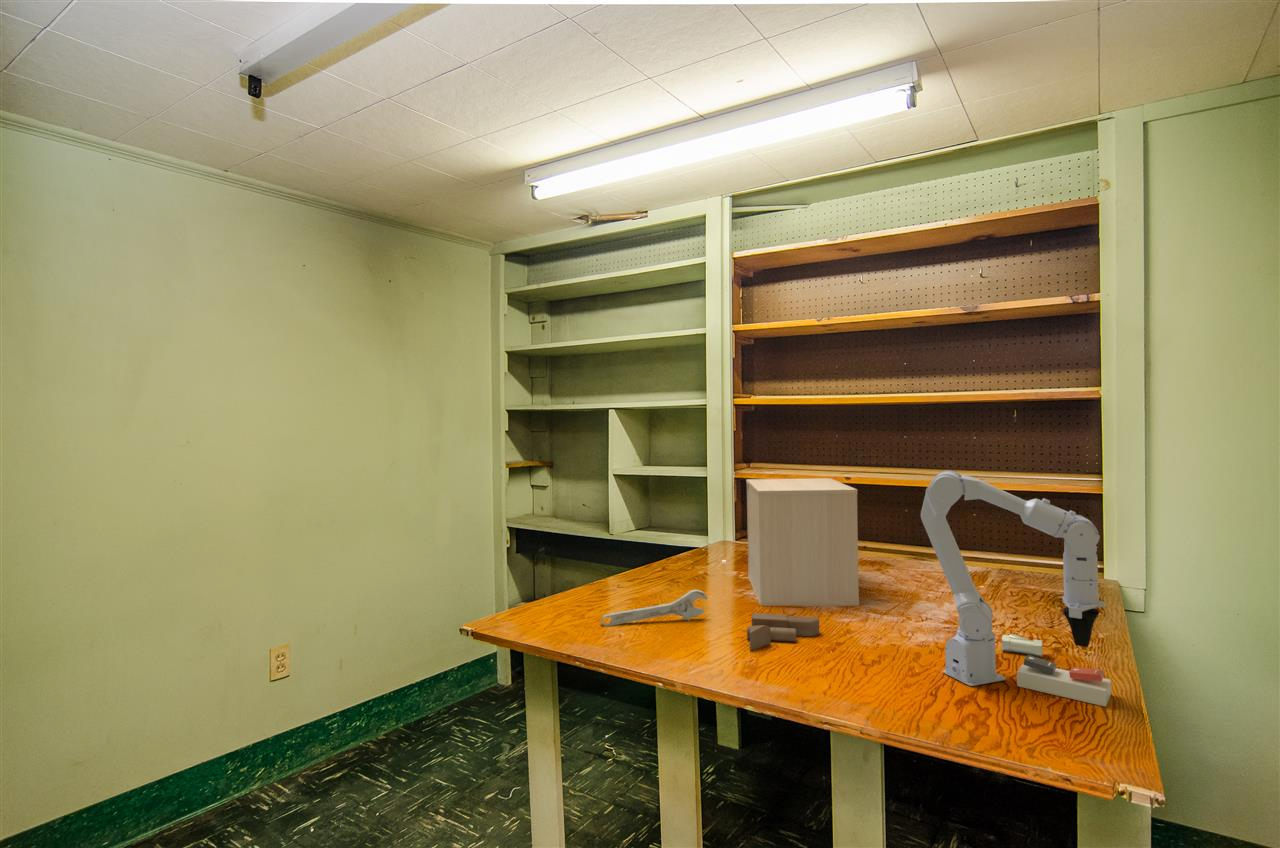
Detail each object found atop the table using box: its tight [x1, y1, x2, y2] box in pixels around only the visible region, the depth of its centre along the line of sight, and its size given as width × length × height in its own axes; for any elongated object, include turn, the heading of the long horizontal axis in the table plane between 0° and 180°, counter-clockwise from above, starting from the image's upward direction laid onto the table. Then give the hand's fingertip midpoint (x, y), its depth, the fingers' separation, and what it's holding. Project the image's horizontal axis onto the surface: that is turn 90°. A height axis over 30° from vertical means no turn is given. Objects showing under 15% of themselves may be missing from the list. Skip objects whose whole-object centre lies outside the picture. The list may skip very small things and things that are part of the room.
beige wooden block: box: [745, 477, 860, 607], centre depth 210 cm, size 35×29×34 cm
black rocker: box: [1023, 654, 1058, 675], centre depth 134 cm, size 5×3×1 cm, turn 48°
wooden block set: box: [746, 612, 820, 652], centre depth 164 cm, size 17×6×18 cm
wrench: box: [600, 589, 708, 627], centre depth 181 cm, size 8×2×30 cm
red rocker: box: [1069, 666, 1105, 681], centre depth 129 cm, size 5×3×1 cm, turn 48°
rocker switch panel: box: [1016, 662, 1112, 707], centre depth 132 cm, size 15×7×3 cm, turn 48°
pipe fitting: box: [1001, 633, 1044, 658], centre depth 153 cm, size 8×4×7 cm
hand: (1081, 645), depth 130 cm, fingers closed
